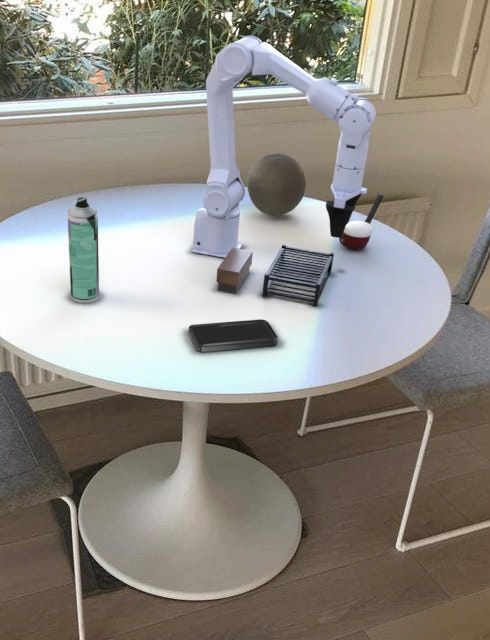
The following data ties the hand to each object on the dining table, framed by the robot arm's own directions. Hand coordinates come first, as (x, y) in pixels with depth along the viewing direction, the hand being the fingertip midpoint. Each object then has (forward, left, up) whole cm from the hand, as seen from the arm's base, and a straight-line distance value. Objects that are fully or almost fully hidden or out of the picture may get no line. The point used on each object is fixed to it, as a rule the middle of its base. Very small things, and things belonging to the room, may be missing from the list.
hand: (339, 229), depth 157 cm
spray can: (-43, -30, -10) cm, 54 cm away
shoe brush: (-18, -12, -10) cm, 24 cm away
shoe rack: (-6, -8, -10) cm, 14 cm away
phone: (-12, -34, -10) cm, 38 cm away
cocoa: (+3, +16, -10) cm, 19 cm away
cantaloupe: (-19, +27, -10) cm, 34 cm away
